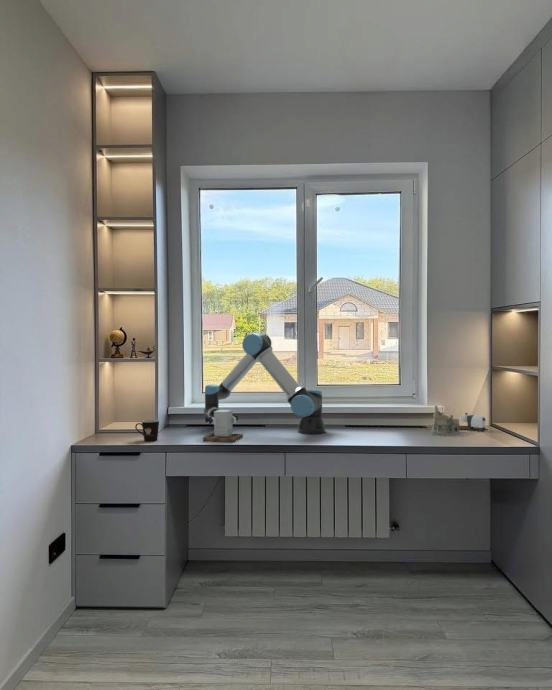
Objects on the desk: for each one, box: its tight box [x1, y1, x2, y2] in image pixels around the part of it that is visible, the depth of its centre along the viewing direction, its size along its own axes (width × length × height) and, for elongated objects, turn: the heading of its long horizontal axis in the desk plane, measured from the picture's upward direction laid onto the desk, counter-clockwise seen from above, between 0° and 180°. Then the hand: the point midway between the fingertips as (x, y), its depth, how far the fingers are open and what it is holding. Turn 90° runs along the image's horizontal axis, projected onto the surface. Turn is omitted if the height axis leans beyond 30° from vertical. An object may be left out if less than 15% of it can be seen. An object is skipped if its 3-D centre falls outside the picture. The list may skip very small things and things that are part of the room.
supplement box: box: [213, 409, 233, 437], centre depth 270 cm, size 7×7×13 cm
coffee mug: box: [135, 419, 160, 443], centre depth 269 cm, size 12×9×10 cm
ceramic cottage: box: [429, 405, 461, 437], centre depth 285 cm, size 16×16×15 cm
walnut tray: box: [203, 432, 244, 443], centre depth 270 cm, size 16×14×2 cm
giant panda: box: [458, 412, 487, 433], centre depth 294 cm, size 15×6×10 cm, turn 47°
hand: (225, 421), depth 266 cm, fingers closed on supplement box, 10 cm apart
